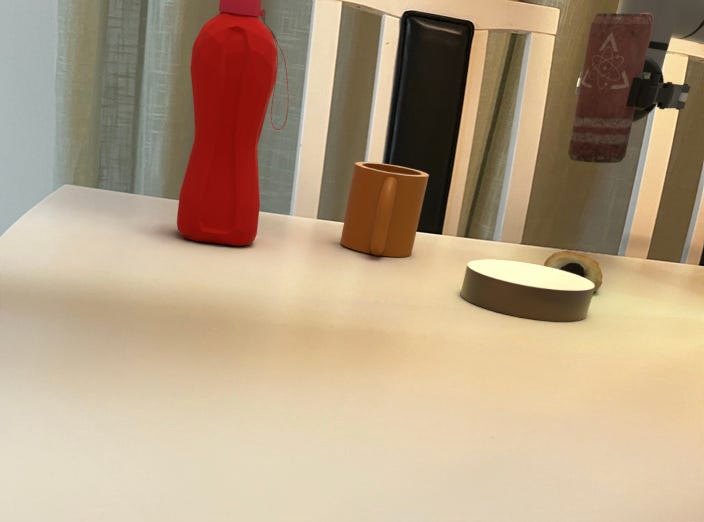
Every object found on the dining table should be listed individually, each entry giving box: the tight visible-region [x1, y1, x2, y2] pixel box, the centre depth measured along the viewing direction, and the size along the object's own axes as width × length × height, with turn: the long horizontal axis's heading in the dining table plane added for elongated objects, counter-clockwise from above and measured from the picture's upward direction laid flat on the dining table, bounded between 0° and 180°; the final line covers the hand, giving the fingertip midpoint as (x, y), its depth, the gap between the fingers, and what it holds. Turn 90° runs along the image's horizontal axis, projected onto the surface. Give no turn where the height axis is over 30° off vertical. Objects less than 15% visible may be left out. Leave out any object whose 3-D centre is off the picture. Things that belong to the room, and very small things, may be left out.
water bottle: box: [176, 0, 290, 247], centre depth 110 cm, size 9×11×25 cm
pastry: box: [543, 250, 603, 292], centre depth 115 cm, size 9×7×4 cm
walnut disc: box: [460, 259, 595, 323], centre depth 104 cm, size 13×13×3 cm
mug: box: [340, 161, 430, 258], centre depth 118 cm, size 9×12×9 cm
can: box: [567, 12, 654, 164], centre depth 109 cm, size 6×6×14 cm
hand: (639, 92), depth 106 cm, fingers closed on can
